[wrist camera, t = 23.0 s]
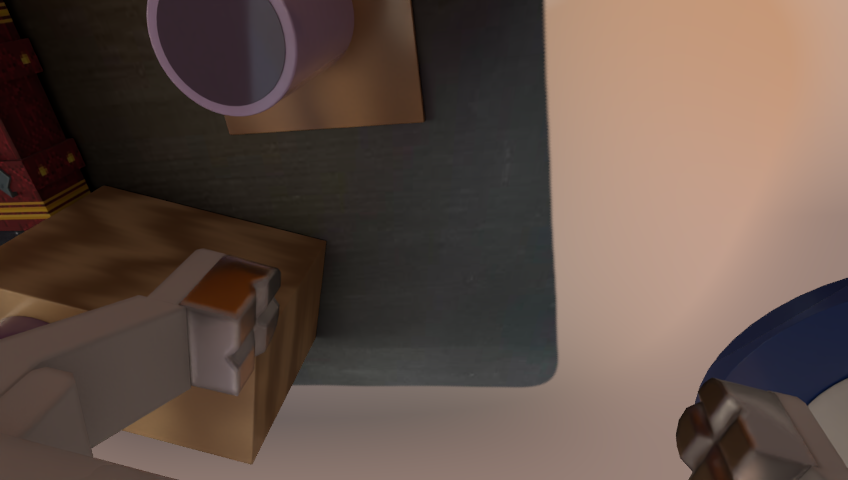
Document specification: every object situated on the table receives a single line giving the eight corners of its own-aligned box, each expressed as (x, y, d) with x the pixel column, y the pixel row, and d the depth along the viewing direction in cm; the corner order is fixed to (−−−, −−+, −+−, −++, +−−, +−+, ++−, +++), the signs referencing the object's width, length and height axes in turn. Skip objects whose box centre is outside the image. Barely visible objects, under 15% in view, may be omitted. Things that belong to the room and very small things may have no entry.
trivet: (396, -139, 25) (395, -140, 25) (425, 120, 31) (424, 122, 31) (162, -100, 27) (157, -101, 27) (232, 133, 34) (229, 135, 33)
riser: (327, 240, 37) (255, 354, 27) (315, 337, 42) (252, 465, 32) (103, 184, 37) (-51, 275, 27) (118, 287, 42) (-7, 396, 32)
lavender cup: (377, 7, 28) (326, 30, 20) (314, 96, 31) (249, 146, 24) (279, -83, 27) (184, -94, 19) (223, 20, 30) (122, 47, 22)
